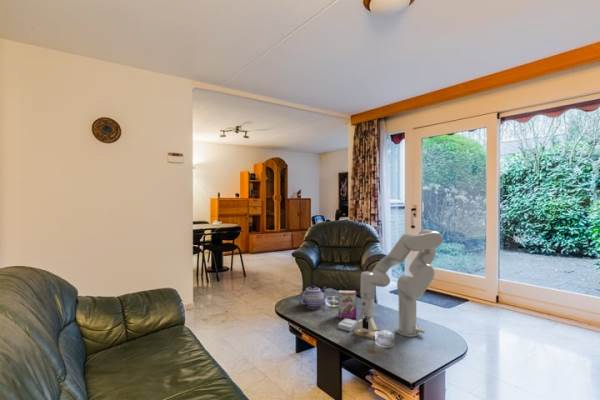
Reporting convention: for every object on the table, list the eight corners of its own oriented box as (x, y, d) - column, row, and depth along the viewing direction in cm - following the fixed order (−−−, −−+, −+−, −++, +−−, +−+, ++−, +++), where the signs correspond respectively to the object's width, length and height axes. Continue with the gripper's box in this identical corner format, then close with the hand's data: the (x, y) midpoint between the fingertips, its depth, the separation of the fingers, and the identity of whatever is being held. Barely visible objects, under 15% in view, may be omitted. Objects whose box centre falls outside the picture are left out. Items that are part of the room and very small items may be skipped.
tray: (382, 333, 167) (382, 330, 167) (376, 340, 159) (376, 337, 159) (359, 327, 175) (359, 324, 175) (353, 333, 167) (353, 330, 167)
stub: (376, 327, 166) (372, 316, 167) (374, 330, 162) (369, 318, 164) (364, 330, 170) (360, 319, 171) (361, 332, 167) (357, 321, 168)
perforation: (348, 332, 168) (348, 332, 168) (348, 332, 168) (348, 332, 168) (336, 329, 172) (336, 329, 172) (336, 329, 172) (336, 329, 172)
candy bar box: (338, 318, 187) (338, 292, 187) (338, 315, 192) (338, 290, 192) (356, 319, 186) (356, 293, 186) (356, 316, 191) (355, 290, 191)
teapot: (304, 314, 195) (304, 291, 195) (292, 307, 208) (291, 285, 207) (334, 305, 209) (333, 284, 209) (320, 299, 222) (320, 279, 221)
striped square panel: (357, 325, 178) (357, 321, 178) (350, 331, 170) (350, 327, 170) (345, 322, 182) (345, 318, 182) (338, 328, 174) (338, 323, 174)
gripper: (368, 300, 158) (367, 334, 158) (379, 291, 171) (378, 323, 172) (354, 297, 162) (354, 330, 162) (366, 289, 176) (366, 320, 176)
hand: (366, 326), depth 167 cm, fingers closed on stub, 3 cm apart
